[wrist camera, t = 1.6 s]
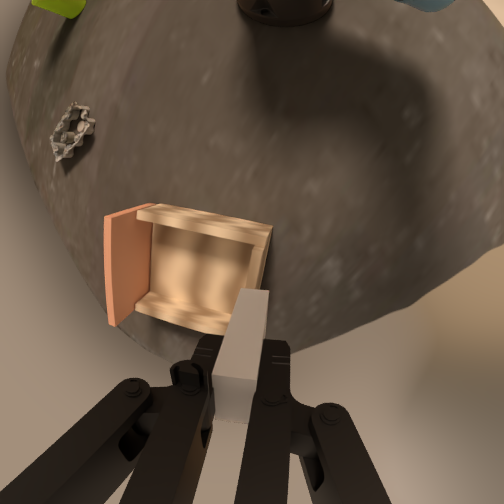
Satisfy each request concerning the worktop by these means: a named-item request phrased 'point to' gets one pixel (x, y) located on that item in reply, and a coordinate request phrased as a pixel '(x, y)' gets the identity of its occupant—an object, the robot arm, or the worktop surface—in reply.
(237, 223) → the wooden open box
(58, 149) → the egg carton
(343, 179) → the worktop surface
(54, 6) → the soap dispenser
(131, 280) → the panel
